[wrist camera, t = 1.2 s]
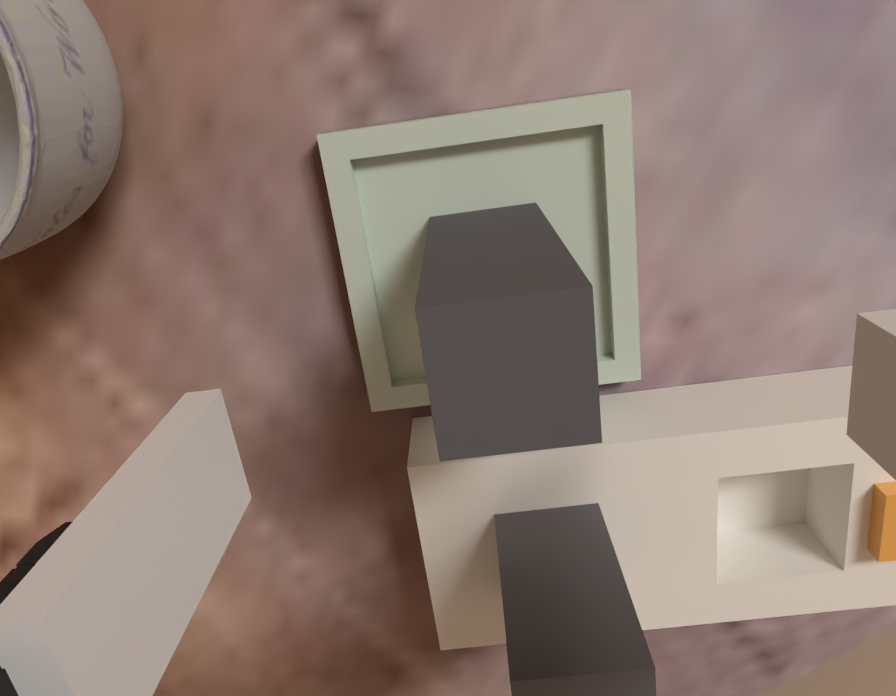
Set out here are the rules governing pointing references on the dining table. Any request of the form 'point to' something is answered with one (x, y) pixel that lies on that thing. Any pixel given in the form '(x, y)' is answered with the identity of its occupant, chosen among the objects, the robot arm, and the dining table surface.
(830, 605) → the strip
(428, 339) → the plug
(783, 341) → the dining table surface
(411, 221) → the tray
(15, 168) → the teacup
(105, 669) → the robot arm
